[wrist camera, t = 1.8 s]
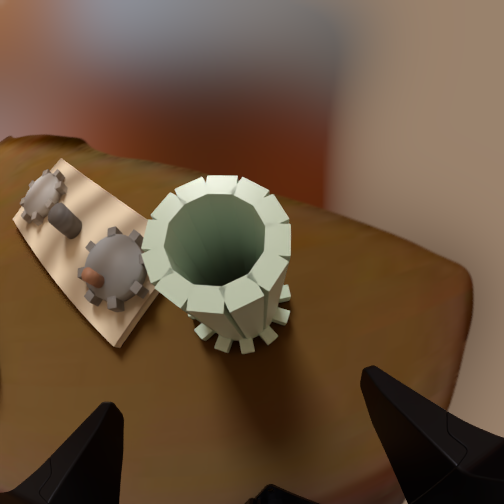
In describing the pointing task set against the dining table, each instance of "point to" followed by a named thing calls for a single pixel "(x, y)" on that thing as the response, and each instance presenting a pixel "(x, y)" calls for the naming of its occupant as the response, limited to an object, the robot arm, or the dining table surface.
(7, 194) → the dining table surface
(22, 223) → the gear board
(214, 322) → the gear sleeve
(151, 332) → the dining table surface
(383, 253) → the dining table surface
